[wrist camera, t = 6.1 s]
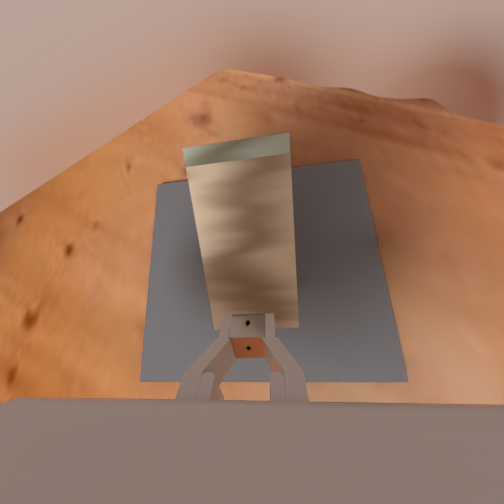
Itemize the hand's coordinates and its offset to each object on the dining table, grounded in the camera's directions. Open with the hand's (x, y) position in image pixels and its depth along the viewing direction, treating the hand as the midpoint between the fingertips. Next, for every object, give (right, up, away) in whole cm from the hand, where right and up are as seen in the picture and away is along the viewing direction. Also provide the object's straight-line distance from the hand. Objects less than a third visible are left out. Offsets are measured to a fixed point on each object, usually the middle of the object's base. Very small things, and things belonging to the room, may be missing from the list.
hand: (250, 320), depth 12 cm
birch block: (+1, -1, +4) cm, 4 cm away
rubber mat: (+1, +3, +7) cm, 8 cm away
